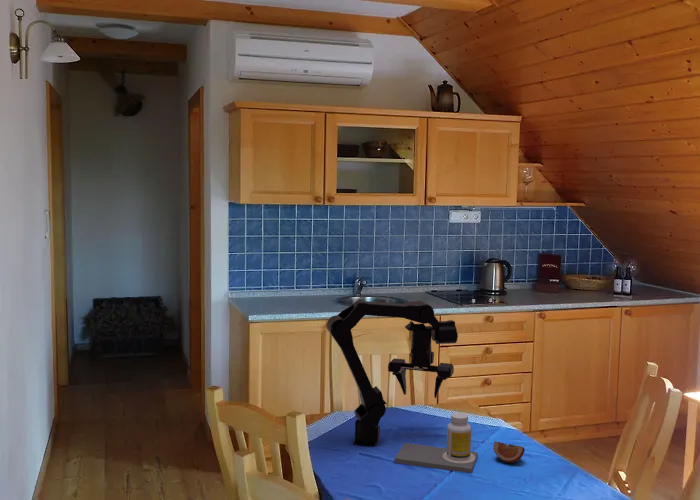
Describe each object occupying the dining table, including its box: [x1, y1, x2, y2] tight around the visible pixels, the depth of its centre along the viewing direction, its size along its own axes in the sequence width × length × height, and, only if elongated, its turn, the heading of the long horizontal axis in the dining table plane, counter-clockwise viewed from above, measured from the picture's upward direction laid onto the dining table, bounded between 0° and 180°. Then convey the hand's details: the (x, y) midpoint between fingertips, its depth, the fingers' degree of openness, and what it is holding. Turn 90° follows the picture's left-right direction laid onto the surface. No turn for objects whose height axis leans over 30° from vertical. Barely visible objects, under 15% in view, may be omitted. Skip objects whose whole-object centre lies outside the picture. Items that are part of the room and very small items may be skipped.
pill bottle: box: [446, 412, 472, 460], centre depth 198 cm, size 6×6×12 cm
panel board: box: [393, 442, 479, 474], centre depth 199 cm, size 21×12×1 cm, turn 72°
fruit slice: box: [493, 440, 525, 464], centre depth 199 cm, size 8×7×5 cm
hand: (420, 396), depth 214 cm, fingers open, 9 cm apart
